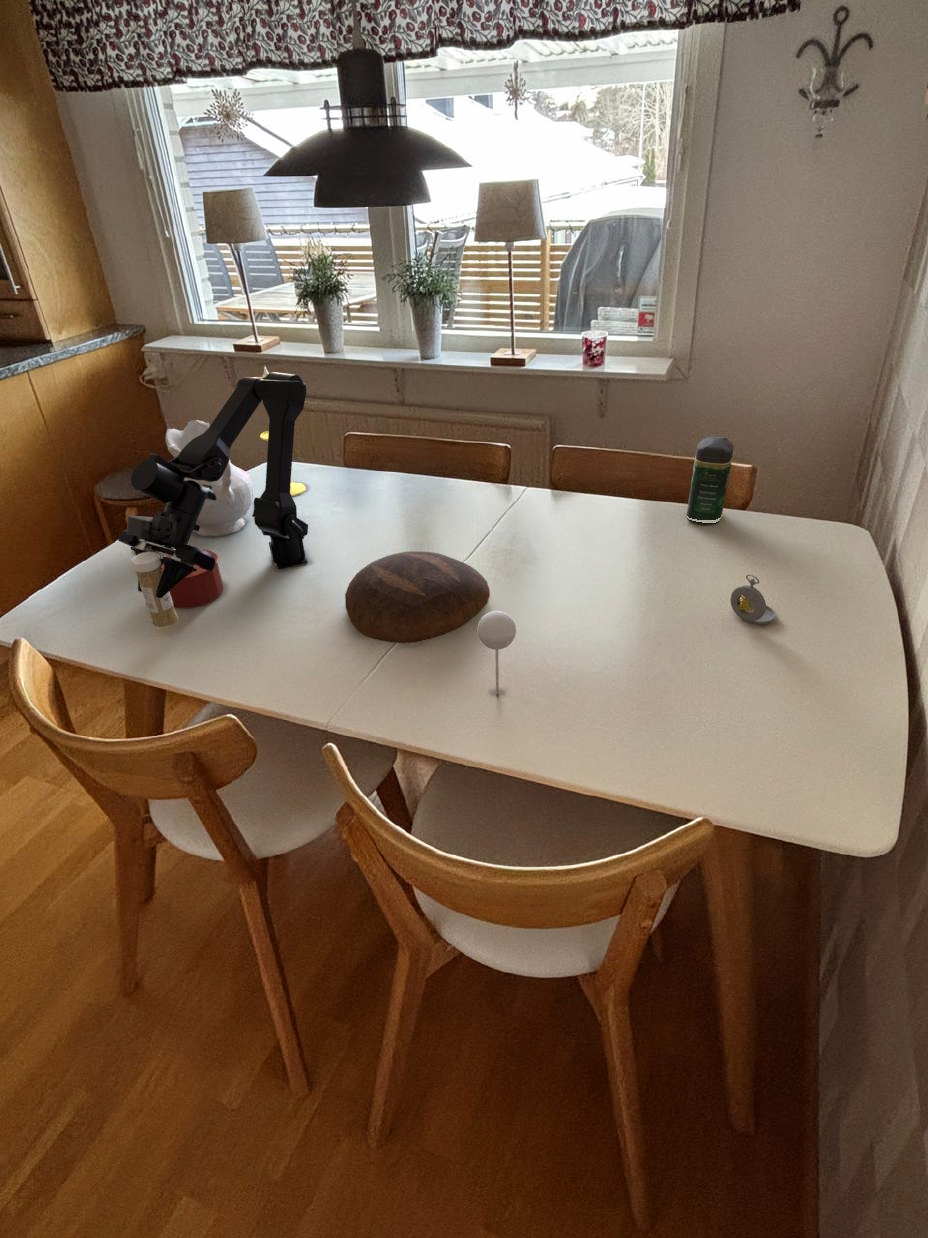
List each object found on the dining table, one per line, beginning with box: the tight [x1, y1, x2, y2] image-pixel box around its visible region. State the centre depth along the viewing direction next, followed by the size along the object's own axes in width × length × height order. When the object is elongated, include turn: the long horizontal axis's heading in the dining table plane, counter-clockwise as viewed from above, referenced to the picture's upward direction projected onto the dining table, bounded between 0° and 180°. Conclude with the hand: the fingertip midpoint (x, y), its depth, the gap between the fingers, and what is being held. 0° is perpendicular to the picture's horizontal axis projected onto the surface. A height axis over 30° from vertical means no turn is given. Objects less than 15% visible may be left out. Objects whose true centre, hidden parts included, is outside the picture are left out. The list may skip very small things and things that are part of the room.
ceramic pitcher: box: [165, 419, 254, 537], centre depth 167 cm, size 22×20×25 cm
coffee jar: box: [686, 435, 734, 526], centre depth 163 cm, size 10×8×19 cm
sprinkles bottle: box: [131, 552, 179, 629], centre depth 128 cm, size 5×5×13 cm
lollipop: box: [476, 610, 517, 695], centre depth 112 cm, size 6×6×15 cm
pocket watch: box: [729, 574, 777, 625], centre depth 129 cm, size 8×8×10 cm
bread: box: [344, 550, 491, 644], centre depth 137 cm, size 28×27×9 cm
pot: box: [169, 563, 224, 609], centre depth 145 cm, size 12×12×6 cm
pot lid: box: [161, 548, 220, 580], centre depth 143 cm, size 13×13×4 cm
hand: (149, 594), depth 127 cm, fingers closed on sprinkles bottle, 4 cm apart
